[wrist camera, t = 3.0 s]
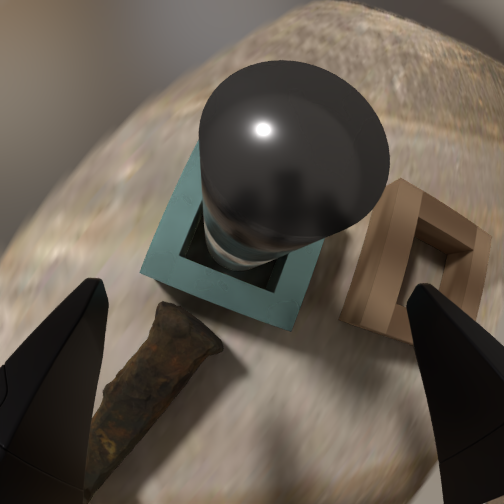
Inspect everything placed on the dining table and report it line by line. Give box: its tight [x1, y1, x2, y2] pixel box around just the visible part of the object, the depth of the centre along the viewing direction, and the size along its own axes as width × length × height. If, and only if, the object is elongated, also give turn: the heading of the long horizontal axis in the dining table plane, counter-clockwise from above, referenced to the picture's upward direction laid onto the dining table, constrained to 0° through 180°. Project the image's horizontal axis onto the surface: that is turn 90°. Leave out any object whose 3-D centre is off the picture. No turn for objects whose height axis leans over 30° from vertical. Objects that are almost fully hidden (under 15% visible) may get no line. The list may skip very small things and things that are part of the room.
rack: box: [339, 178, 492, 346], centre depth 19 cm, size 9×9×3 cm
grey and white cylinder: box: [199, 60, 390, 271], centre depth 12 cm, size 4×4×13 cm
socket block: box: [139, 140, 325, 332], centre depth 17 cm, size 8×8×3 cm
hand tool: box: [83, 301, 224, 504], centre depth 14 cm, size 19×4×5 cm, turn 141°
